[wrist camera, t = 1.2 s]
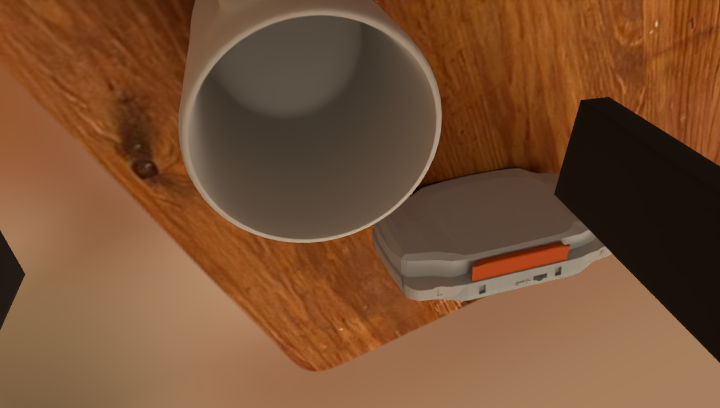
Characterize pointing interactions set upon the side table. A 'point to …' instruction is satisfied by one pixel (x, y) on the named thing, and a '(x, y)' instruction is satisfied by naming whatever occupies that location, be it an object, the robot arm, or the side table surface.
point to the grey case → (483, 237)
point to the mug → (305, 115)
